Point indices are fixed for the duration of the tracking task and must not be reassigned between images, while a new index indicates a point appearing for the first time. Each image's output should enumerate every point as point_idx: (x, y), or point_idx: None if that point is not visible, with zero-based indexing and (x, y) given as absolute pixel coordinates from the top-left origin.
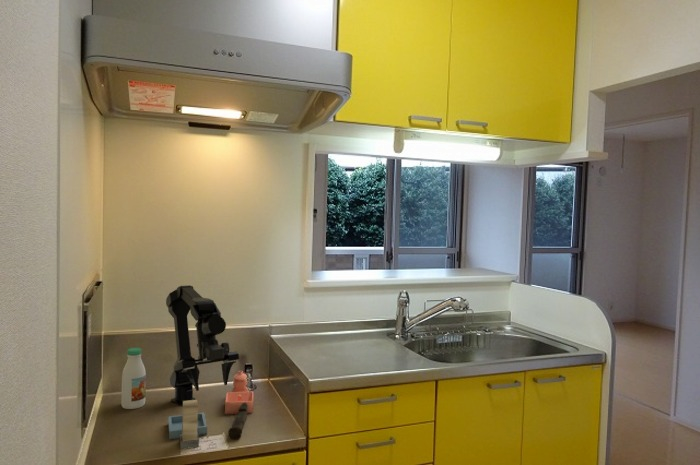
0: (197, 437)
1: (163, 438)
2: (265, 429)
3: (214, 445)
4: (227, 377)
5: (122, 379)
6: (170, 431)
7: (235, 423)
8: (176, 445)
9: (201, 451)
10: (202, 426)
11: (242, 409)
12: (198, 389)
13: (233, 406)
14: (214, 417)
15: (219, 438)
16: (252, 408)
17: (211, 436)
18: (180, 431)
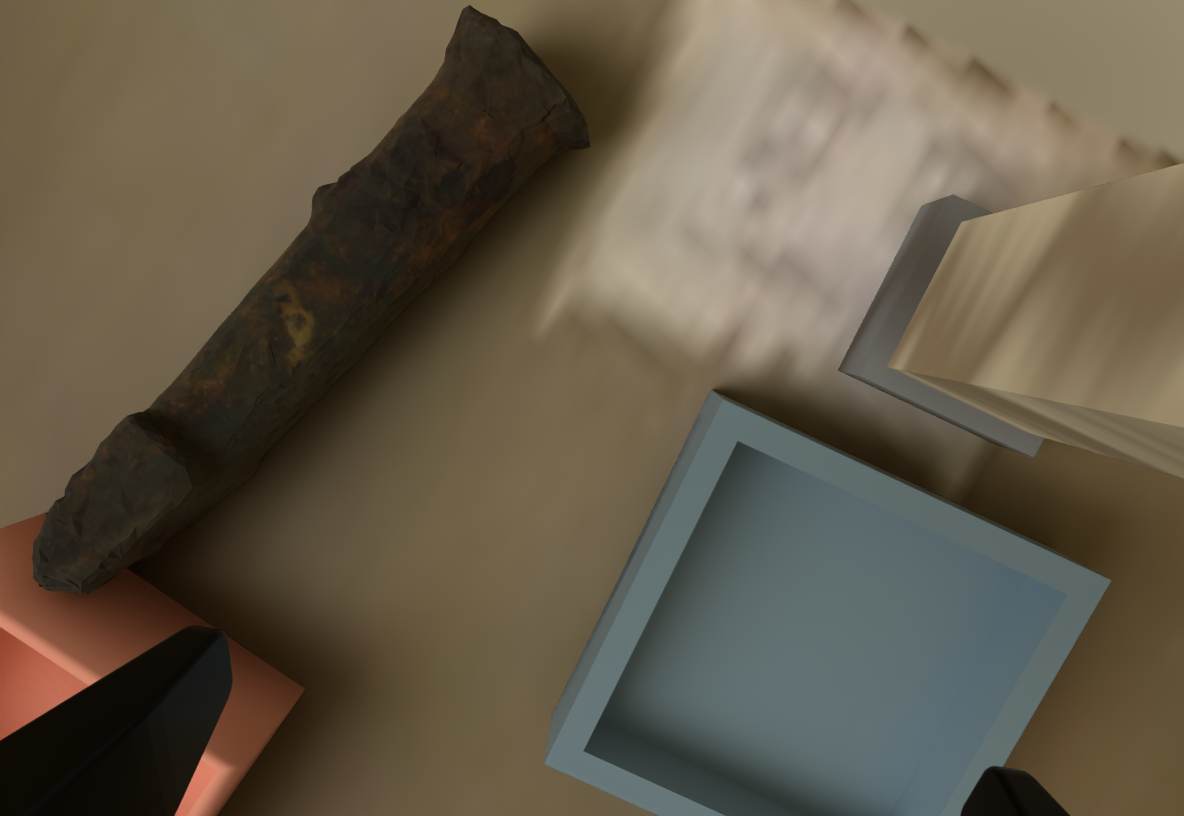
0: (928, 266)
1: None
2: (154, 61)
3: (785, 116)
4: (5, 763)
5: None
6: (1100, 575)
7: (449, 173)
8: None
9: (958, 91)
10: (762, 441)
11: (170, 440)
12: (1015, 783)
13: None
14: (435, 690)
15: (658, 222)
16: (9, 533)
17: (697, 321)
18: (992, 524)
